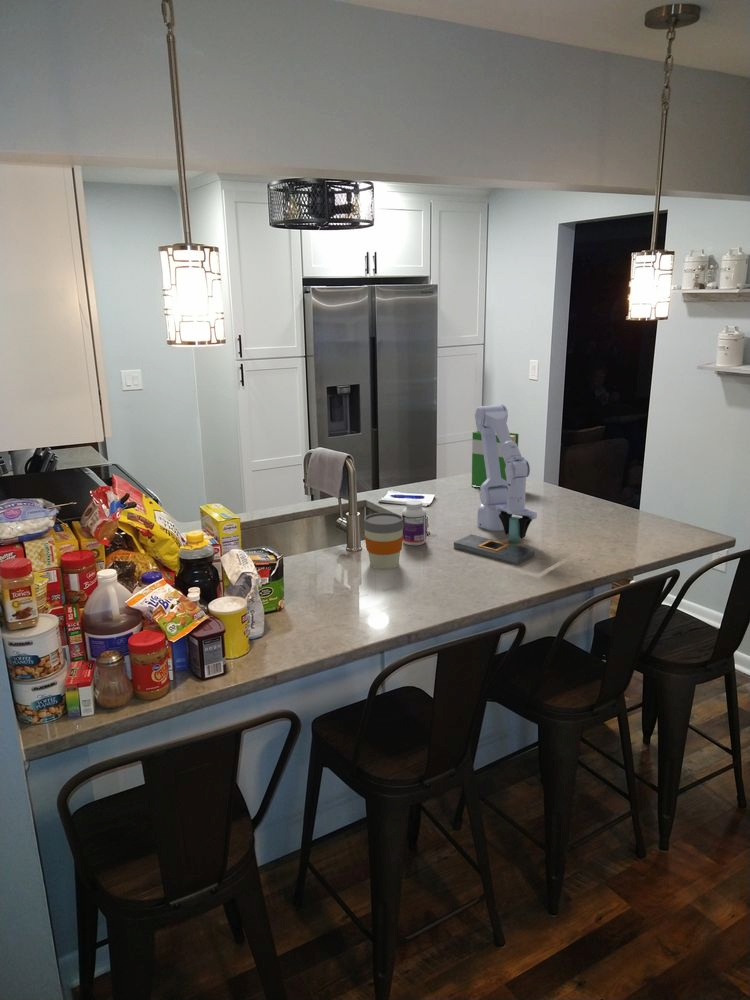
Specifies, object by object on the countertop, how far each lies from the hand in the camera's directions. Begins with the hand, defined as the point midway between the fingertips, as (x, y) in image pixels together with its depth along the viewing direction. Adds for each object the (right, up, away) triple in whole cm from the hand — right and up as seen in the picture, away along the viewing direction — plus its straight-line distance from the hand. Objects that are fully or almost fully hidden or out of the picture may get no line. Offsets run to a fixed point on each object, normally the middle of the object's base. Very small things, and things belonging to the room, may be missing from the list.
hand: (515, 535), depth 237 cm
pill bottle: (-33, -3, +4) cm, 34 cm away
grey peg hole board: (-9, -6, -8) cm, 13 cm away
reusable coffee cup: (-44, -8, -14) cm, 47 cm away
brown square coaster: (0, -3, +1) cm, 3 cm away
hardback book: (+4, +17, +68) cm, 71 cm away
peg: (0, -2, +1) cm, 2 cm away
